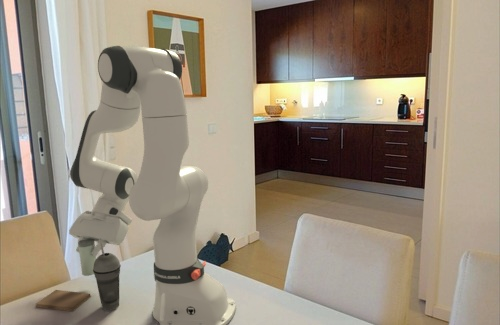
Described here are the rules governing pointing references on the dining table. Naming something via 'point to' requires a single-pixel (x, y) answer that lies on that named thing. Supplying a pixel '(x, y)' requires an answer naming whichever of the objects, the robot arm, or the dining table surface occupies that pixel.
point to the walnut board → (63, 300)
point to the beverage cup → (107, 279)
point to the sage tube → (86, 256)
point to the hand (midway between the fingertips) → (85, 253)
